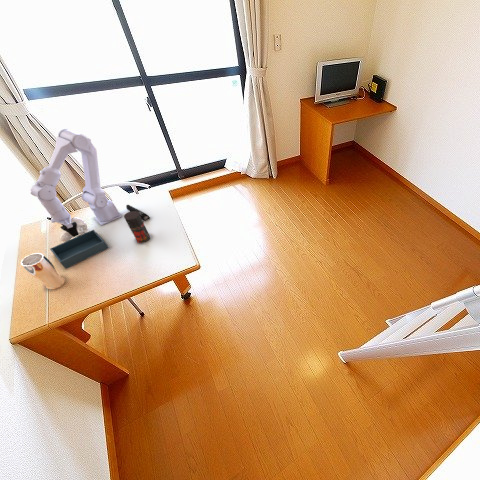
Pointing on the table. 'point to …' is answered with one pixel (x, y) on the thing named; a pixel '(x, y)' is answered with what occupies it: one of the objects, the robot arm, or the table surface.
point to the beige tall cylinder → (42, 270)
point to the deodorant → (137, 226)
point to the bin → (79, 248)
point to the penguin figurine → (80, 226)
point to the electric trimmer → (142, 214)
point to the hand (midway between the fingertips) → (72, 231)
